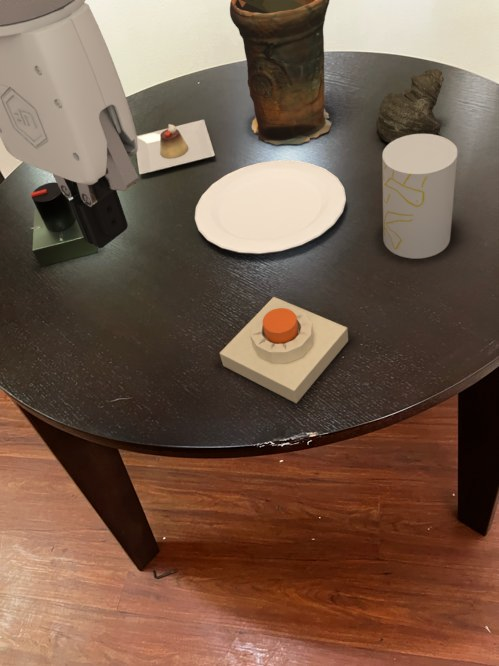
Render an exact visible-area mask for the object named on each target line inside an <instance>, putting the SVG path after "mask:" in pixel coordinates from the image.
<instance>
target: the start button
mask: <svg viewBox="0 0 499 666" xmlns="http://www.w3.org/2000/svg"><path fill="white" fill-rule="evenodd" d="M263 328H264V332H265V336H266V338H267V339H268V340H269V341H271V342H273V343H277V344H283V343H287V342H289V341H291V340H293V339H294V338H295V337H296V336H297V334H298V323H297V317H296V315H295V313H294V312H293V311H291V310H289V309H286V308H278V309H274V310H271V311H270V312H268V313H267V314H266V315H265V316H264V318H263Z"/></svg>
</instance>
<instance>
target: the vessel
mask: <svg viewBox="0 0 499 666" xmlns="http://www.w3.org/2000/svg"><path fill="white" fill-rule="evenodd" d="M329 5H330V0H230V4H229V16H230V19H231V21H232V23H233V24H234V26H235V28H237V30H238V32H239V36H240V37H241V38H242V41H243V48H244V55H245V59H246V66H247V87H248V90H249V97H250V98H251V101H252V103H253V111H254V115H255V117H254V119H253V120H252V121H251V122H252V124H251V130H252V131H253V133H254V134H256V136H258V137H257V139H258V140H261V141H264V143H269V144H272V145H274V146H278V145H283V144H285V145H286V144H287V145H300V144H303V143H306V142H309V141H310V138H318V137H319V136H321V135H323V134H326V133H328V132H329V131H330V129H331V126H332V122H331V121H330V120H328V119H329V118H330V116H329V115H330V113H328V112H327V111H326V108H325V39H324V37H325V36H324V25H325V21H326V15H327V10H328V7H329Z"/></svg>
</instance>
